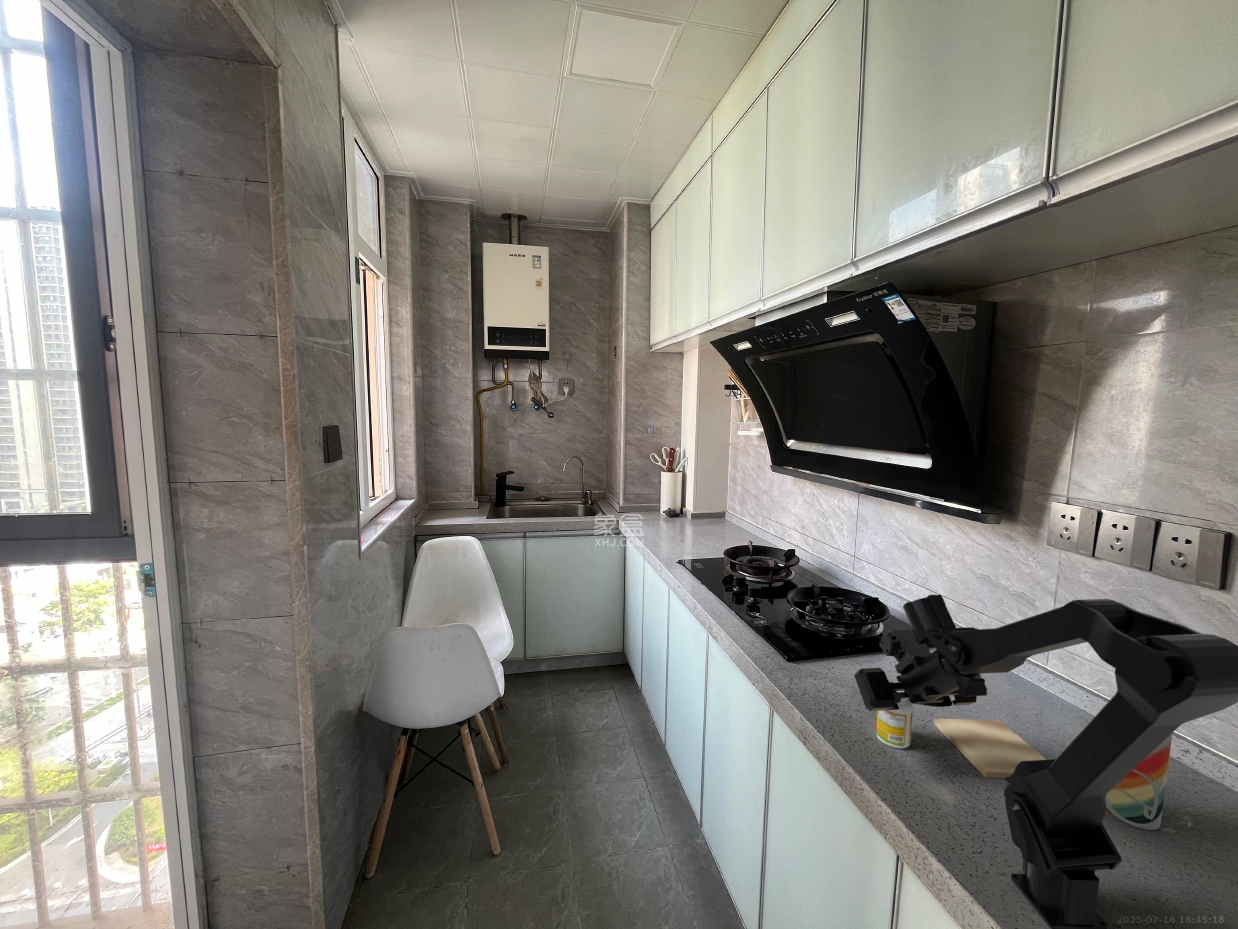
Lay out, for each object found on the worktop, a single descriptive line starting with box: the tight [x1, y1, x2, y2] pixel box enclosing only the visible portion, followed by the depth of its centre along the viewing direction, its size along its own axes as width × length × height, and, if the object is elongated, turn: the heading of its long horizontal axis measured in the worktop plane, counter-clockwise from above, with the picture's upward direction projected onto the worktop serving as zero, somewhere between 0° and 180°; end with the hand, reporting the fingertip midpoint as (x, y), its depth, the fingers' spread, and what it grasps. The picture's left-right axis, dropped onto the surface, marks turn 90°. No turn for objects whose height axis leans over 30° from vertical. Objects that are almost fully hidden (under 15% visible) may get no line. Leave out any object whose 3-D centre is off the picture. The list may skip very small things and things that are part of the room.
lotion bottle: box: [1104, 733, 1173, 831], centre depth 72 cm, size 6×6×20 cm
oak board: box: [933, 718, 1046, 779], centre depth 87 cm, size 14×12×1 cm
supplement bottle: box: [875, 681, 914, 749], centre depth 89 cm, size 5×5×10 cm
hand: (890, 700), depth 90 cm, fingers closed on supplement bottle, 5 cm apart
